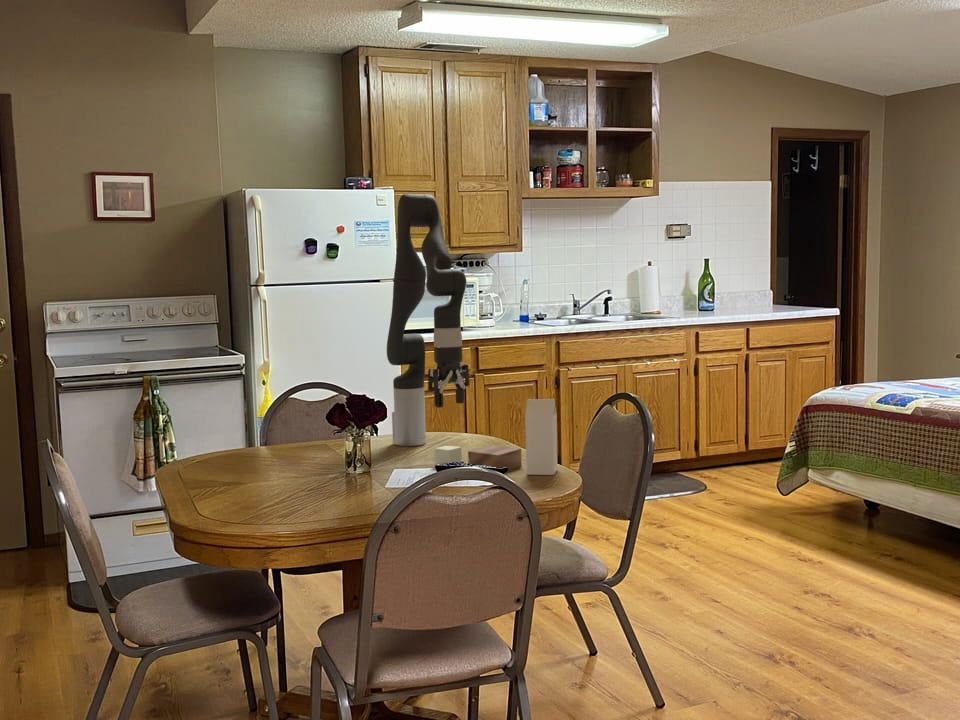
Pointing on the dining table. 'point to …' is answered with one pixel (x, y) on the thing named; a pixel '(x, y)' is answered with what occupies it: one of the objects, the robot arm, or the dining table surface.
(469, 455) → the walnut block
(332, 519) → the dining table surface
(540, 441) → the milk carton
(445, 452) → the sage cube
